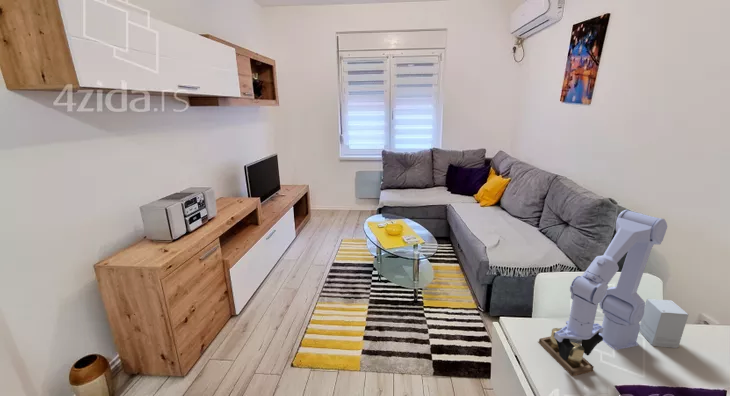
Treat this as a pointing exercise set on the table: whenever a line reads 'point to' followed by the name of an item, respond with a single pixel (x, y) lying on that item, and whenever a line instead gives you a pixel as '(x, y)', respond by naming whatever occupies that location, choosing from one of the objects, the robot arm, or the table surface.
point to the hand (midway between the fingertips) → (574, 355)
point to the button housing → (574, 339)
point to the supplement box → (663, 323)
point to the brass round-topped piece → (552, 341)
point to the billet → (575, 356)
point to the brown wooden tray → (584, 368)
